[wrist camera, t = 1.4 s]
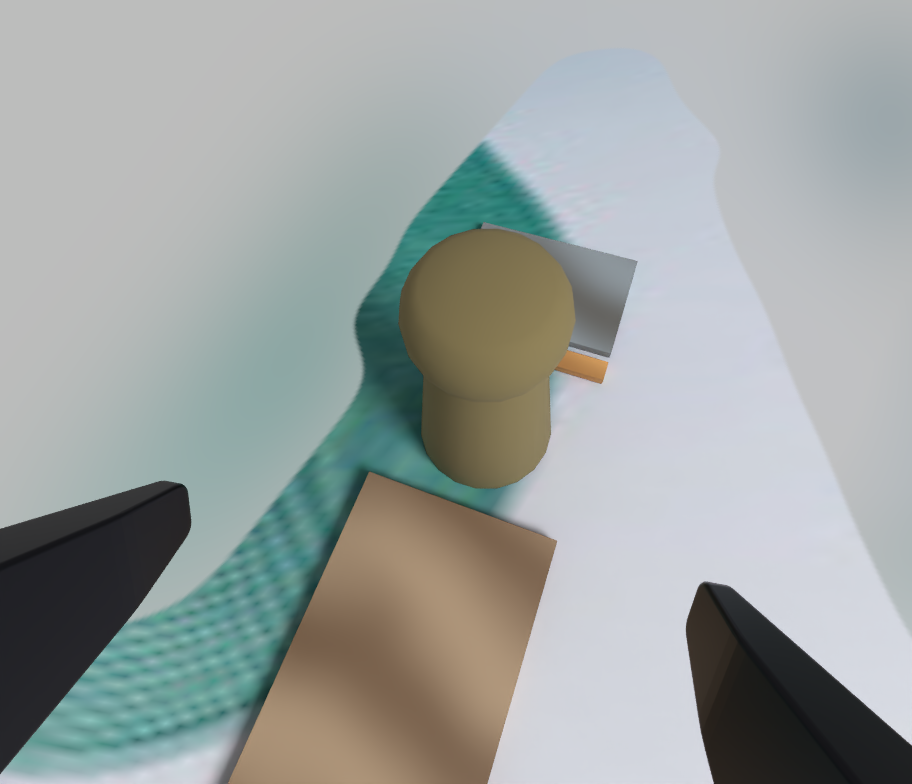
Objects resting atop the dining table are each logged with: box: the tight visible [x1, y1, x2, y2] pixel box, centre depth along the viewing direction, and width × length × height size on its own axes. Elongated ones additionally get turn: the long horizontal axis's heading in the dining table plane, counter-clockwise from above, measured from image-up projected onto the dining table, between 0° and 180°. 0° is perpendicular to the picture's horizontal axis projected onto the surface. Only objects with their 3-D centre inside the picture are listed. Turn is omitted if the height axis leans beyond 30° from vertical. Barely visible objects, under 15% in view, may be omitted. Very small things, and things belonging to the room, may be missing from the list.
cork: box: [398, 229, 576, 488], centre depth 18 cm, size 6×6×11 cm
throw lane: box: [228, 222, 637, 784], centre depth 22 cm, size 31×8×1 cm, turn 159°
